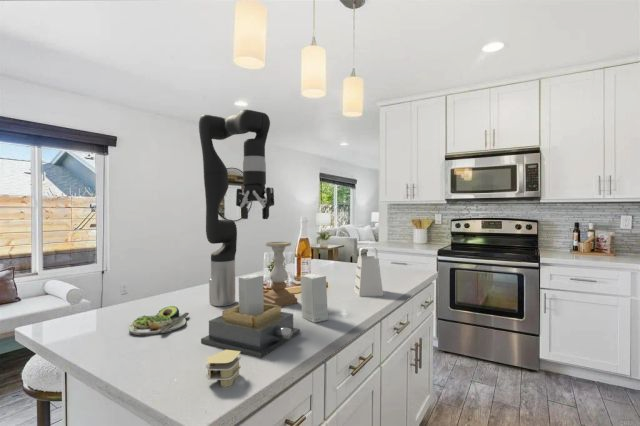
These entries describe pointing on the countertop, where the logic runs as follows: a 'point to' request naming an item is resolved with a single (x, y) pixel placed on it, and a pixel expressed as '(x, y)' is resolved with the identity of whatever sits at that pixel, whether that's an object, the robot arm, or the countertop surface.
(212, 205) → the robot arm
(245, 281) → the skincare box
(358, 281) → the grater
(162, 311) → the salad plate
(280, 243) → the candle holder
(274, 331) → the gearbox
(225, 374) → the tan layered stack
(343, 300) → the countertop surface
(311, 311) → the skincare box
